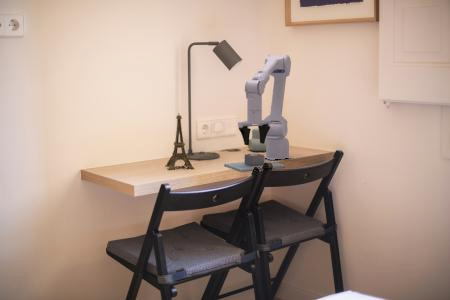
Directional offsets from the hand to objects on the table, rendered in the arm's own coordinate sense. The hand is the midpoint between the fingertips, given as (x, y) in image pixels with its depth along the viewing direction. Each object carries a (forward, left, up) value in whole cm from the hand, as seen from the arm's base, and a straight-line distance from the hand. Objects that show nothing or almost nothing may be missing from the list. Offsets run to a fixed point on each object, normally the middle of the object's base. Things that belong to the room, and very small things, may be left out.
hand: (254, 144), depth 269 cm
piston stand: (0, 0, -9) cm, 9 cm away
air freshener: (-22, -34, -9) cm, 42 cm away
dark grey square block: (0, 0, -8) cm, 8 cm away
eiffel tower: (+27, -13, -9) cm, 31 cm away
